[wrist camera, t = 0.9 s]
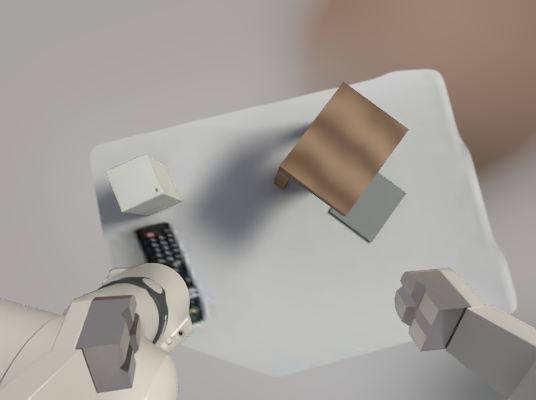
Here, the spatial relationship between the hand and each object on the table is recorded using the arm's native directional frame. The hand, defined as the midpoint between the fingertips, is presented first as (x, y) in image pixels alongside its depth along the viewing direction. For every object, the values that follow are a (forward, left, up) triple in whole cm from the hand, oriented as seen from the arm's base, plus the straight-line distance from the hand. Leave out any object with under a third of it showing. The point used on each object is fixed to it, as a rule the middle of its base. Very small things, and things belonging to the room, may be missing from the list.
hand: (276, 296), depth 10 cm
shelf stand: (+19, -1, -56) cm, 59 cm away
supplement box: (-4, +22, -56) cm, 60 cm away
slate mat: (+19, -12, -56) cm, 60 cm away
